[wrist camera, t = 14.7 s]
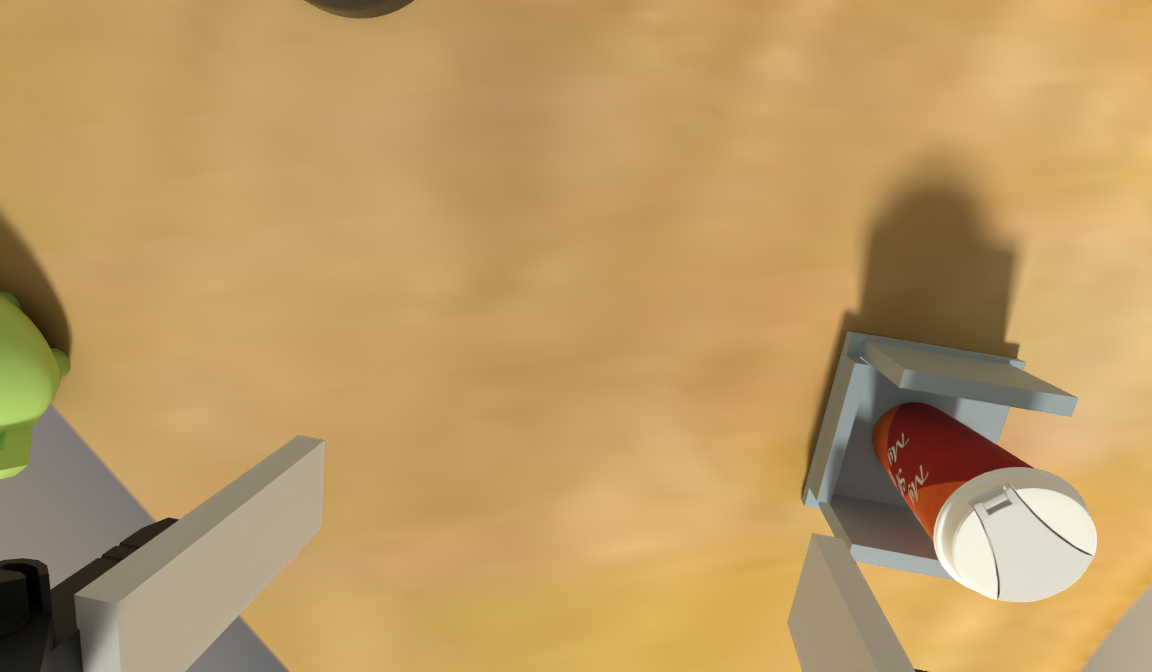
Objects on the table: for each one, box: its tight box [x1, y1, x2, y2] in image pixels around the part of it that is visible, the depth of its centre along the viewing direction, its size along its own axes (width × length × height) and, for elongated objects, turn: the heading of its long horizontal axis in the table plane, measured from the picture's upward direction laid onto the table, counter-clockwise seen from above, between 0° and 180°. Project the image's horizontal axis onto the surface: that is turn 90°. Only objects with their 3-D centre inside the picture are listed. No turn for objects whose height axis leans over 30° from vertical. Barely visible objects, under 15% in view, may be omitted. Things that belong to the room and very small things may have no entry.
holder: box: [801, 331, 1078, 581], centre depth 41 cm, size 14×12×8 cm
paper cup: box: [872, 402, 1097, 602], centre depth 37 cm, size 8×8×14 cm
